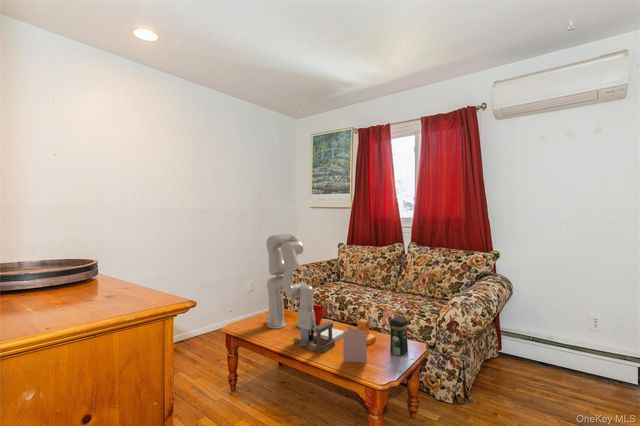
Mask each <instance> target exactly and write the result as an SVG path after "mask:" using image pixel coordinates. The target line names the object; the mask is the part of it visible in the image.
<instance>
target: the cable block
mask: <svg viewBox="0 0 640 426" xmlns="http://www.w3.org/2000/svg"><path fill="white" fill-rule="evenodd" d="M311 332H312V330H311ZM309 334H310V333H309V330H307V329H303V328H301V332H300V340H303V341H306V342H309ZM309 343H312V344H314V341H311V342H309Z"/></svg>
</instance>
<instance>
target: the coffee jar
mask: <svg viewBox="0 0 640 426" xmlns="http://www.w3.org/2000/svg"><path fill="white" fill-rule="evenodd" d="M389 328H390V329H389V330H390V342H389V343H390V344H389V345H390V346H389V347H390V348H389V349H390V350H389V352H390V353H391V354H392V355H393V356H396V357H397V356H399V357H403V356H404V355H406V354H408V351H409V346H408V319H407V318H406V317H405V316H404V315H403V316H402V315H397V316H394V317H392V318H391V319H389Z"/></svg>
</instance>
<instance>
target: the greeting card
mask: <svg viewBox="0 0 640 426" xmlns="http://www.w3.org/2000/svg"><path fill="white" fill-rule="evenodd" d="M342 339H343V342H342V343H343V345H342V346H343V347H342V348H343V350H342V351H343V353H342V354H343V363H344V362H345V363H368V361H367V359H368V355H367V354H368V353H367V349H368V348H367V346H368V345H367V341H366V332H363V331H360V330H357V328H352V327H349V326H347V331H345V332H343V337H342Z"/></svg>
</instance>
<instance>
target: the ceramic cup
mask: <svg viewBox="0 0 640 426" xmlns="http://www.w3.org/2000/svg"><path fill="white" fill-rule="evenodd" d="M324 309H325V308H324V306H322V305H319V304H316V305H314V304H313V310H314V313H315V322H316V325H319V324H320V322H321V321H322V320H323V317H324V311H325V310H324Z"/></svg>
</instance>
